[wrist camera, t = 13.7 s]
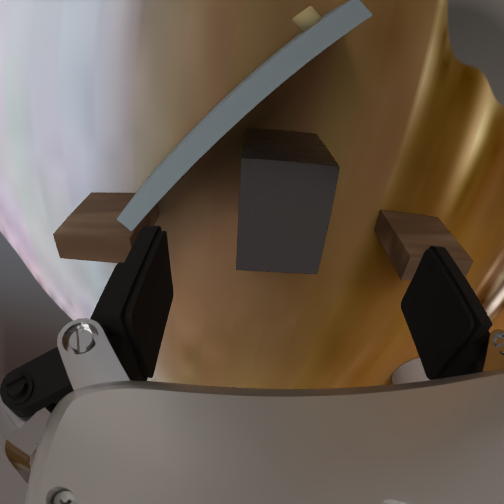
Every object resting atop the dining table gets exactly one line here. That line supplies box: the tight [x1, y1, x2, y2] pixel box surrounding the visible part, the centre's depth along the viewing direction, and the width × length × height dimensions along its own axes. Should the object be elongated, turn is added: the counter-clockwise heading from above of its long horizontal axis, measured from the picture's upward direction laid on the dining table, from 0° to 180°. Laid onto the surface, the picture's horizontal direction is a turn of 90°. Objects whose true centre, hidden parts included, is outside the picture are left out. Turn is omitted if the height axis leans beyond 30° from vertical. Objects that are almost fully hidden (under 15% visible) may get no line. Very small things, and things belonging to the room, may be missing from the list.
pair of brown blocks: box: [53, 193, 473, 280], centre depth 22 cm, size 2×30×6 cm, turn 86°
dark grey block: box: [236, 128, 340, 274], centre depth 20 cm, size 7×5×7 cm
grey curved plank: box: [117, 0, 372, 231], centre depth 17 cm, size 2×18×6 cm, turn 134°
